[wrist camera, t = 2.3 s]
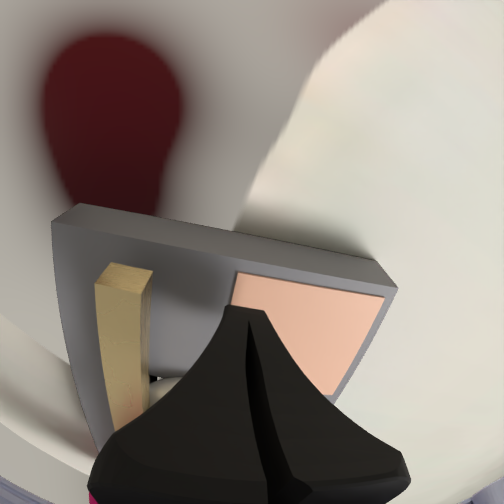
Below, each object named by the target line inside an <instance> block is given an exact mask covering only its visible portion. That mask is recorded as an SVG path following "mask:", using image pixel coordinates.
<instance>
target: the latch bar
mask: <svg viewBox="0 0 504 504" xmlns="http://www.w3.org/2000/svg"><path fill="white" fill-rule="evenodd" d="M152 278H153V271H150V270H145V269H141V268H136V267H131V266H127V265H122V264H118V263H113V262H111V263H110V264H109V265H108V267H107V268H106V269H105V270H104V272H103V273H102V274H101V275H100V277H99V278H98V279H97V281H96V282H95V301H96V314H97V325H98V335H99V344H100V352H101V359H102V366H103V373H104V379H105V385H106V390H107V396H108V401H109V406H110V411H111V415H112V420H113V424H114V429H115V431H117V430H119V429H120V428H122V427H123V426H125V425H126V424H128V423H129V422H131V421H132V420H134V419H135V418H137V417H138V416H140V415H141V414H142V413H144V412H145V411H146V410H147V409H149V408H150V397H149V342H150V312H151V293H152Z"/></svg>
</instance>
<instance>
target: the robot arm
mask: <svg viewBox="0 0 504 504" xmlns="http://www.w3.org/2000/svg"><path fill="white" fill-rule="evenodd" d="M410 483H411V478H410V475H409V472H408V469H407V466H406V463H405V461H404V458H403V456H402V453H401V452H400V451H398V450H397V449H395V448H393V447H391V446H390V445H388V444H386V443H384V442H383V441H381V440H379V439H378V438H376V437H374V436H373V435H371V434H370V433H368V432H367V431H365V430H364V429H363V428H361V427H360V426H358V425H357V424H356V423H354V422H353V421H352V420H351V419H349V418H348V417H347V416H346V415H344V414H343V413H342V412H341V411H340V410H339V409H338V408H337V407H335V406H334V405H333V404H332V403H331V402H330V401H329V400H328V399H327V398H326V397H325V396H324V395H323V394H322V393H321V392H320V391H319V390H318V389H317V388H316V387H315V386H314V384H313V383H312V382H311V381H310V380H309V379H308V378H307V376H306V375H305V374H304V373H303V371H302V370H301V369H300V367H299V366H298V365H297V363H296V362H295V361H294V359H293V358H292V356H291V355H290V353H289V352H288V350H287V349H286V347H285V345H284V344H283V342H282V341H281V339H280V337H279V336H278V334H277V332H276V330H275V329H274V327H273V325H272V323H271V321H270V320H269V318H268V316H267V314H266V313H265V311H264V310H259V309H253V308H247V307H241V306H236V305H230V304H228V305H226V306H225V307H224V311H223V316H222V319H221V321H220V324H219V326H218V328H217V330H216V331H215V333H214V335H213V337H212V339H211V340H210V342H209V344H208V345H207V346H206V348H205V349H204V351H203V352H202V354H201V355H200V357H199V358H198V359H197V361H196V362H195V363H194V364H193V366H192V367H191V368H190V369H189V370H188V372H187V373H186V374H185V375H184V376H183V377H182V378H181V379H180V380H179V381H178V382H177V383H176V384H175V385H174V387H173V388H172V389H171V390H169V391H168V392H167V393H166V394H165V395H164V396H163V397H162V398H161V399H159V400H158V401H157V402H156V403H155V404H153V405H152V406H151V407H150V408H149V409H147V410H146V411H145V412H144V413H142V414H141V415H140V416H138V417H137V418H135V419H134V420H132V421H131V422H129V423H128V424H126V425H125V426H123V427H122V428H120V429H119V430H117V431H115V432H114V433H113V434H112V435H111V436H110V438H109V439H108V440H107V442H106V443H105V445H104V446H103V448H102V449H101V451H100V453H99V454H98V456H97V458H96V460H95V462H94V465H93V467H92V470H91V474H90V477H89V481H88V484H87V488H88V490H89V492H90V494H91V495H92V496H93V498H94V499H95V500H96V502H97V503H98V504H386V503H387V502H389V501H390V500H392V499H393V498H395V497H396V496H398V495H399V494H401V493H402V492H403V491H404V490H406V488H407V487H408V486H409V484H410ZM0 504H53V503H51V502H49V501H47V500H45V499H42V498H40V497H38V496H36V495H34V494H32V493H30V492H28V491H26V490H24V489H23V488H21V487H19V486H17V485H15V484H13V483H12V482H10V481H8V480H6V479H5V478H3V477H1V476H0ZM457 504H504V477H501V478H500V479H498V480H496V481H494V482H492V483H490V484H489V485H487V486H485V487H484V488H482V489H481V490H479V491H478V492H477V493H475V494H474V495H473V496H472V497H470V498H468V499H466V500H464V501H462V502H459V503H457Z"/></svg>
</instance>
